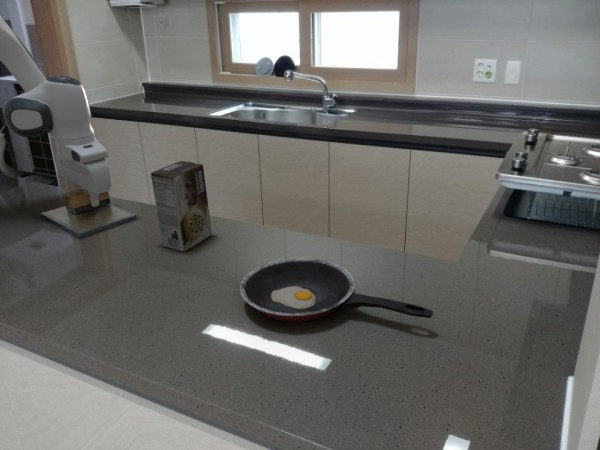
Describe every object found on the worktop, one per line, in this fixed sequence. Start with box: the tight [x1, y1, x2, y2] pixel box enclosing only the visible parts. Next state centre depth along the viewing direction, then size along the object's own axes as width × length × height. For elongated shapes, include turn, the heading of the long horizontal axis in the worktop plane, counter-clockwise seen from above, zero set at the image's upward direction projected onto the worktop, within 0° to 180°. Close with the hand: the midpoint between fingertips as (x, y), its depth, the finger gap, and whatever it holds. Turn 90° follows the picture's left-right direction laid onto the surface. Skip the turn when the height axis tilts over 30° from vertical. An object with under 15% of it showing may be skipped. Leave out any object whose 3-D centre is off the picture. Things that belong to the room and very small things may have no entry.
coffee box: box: [150, 160, 213, 252], centre depth 110 cm, size 9×6×16 cm
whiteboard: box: [40, 203, 137, 239], centre depth 128 cm, size 20×14×1 cm
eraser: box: [62, 188, 111, 214], centre depth 131 cm, size 5×9×4 cm, turn 137°
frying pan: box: [239, 257, 434, 323], centre depth 86 cm, size 19×32×4 cm, turn 61°
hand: (88, 202), depth 131 cm, fingers closed on eraser, 5 cm apart
